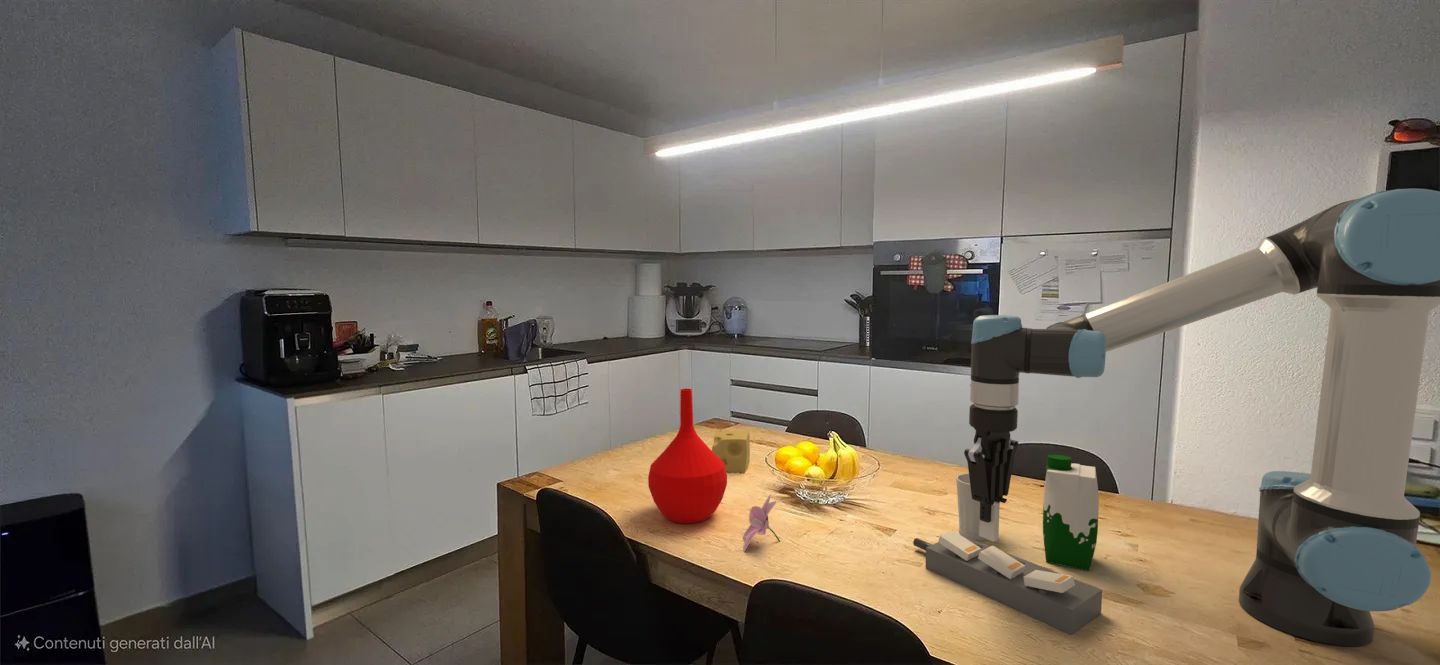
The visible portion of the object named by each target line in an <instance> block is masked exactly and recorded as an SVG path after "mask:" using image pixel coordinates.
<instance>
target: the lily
mask: <svg viewBox="0 0 1440 665" xmlns="http://www.w3.org/2000/svg"><path fill="white" fill-rule="evenodd" d="M771 496H772V494H769V496H768V497H767V498H766V500H765V502H764V503H763V505H762V507H760V506H757V505H755V506H751V508H750V510H749V515H748V521H749V526H748V528H746V531H745V532H744V534H743V536H742V539H744V538H745V541H744V544H743V553H745V552H746V550H747V548H748V546H749V545H750V543H751V541H752V540H753V538H754V537H755V535H759V536H765V535H766V534H767V529H768V530H770V532H771V533H772V534H773V535H774V536H775V538H776V540H777V541H778V542H779V543H780V542H781V540H780V538H779V537H778V536H777V534H776V532H775V531H774V530H773V529H772V528H771V527H770V523H769V514H770V513H771V510H772V509H773V508H774V506H775V505H776V504H777V501H776V500H774V501H771V502H770V500H771Z"/></svg>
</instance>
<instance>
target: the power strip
mask: <svg viewBox="0 0 1440 665" xmlns="http://www.w3.org/2000/svg"><path fill="white" fill-rule="evenodd" d="M961 536H962V535H961ZM963 537H964V536H963ZM964 538H966V539H967V540H969V541H971V542H972V543H974V544H975V545H977V546H978V547H980V548H981V551H982V550H984V549H986V548H988V547H991V546H989V545H987V544H984V543H982V542H981V541H980V542H979V541H977V540H972V539H969V538H967V537H964ZM912 544H913V546H914V547H915V548H916V547H917V548H919V549H921V550H923V551H925V568H926V569H927V570H929V571H932V572H933V573H936V574H938V575H940V576H942V577H944V578H947V579H949V580H951V581H952V582H955V583H958V584H960V585H962V586H964V587H966V588H968V589H970V590H973V591H975V592H977V593H979V594H982V595H983V596H986V597H988V598H990V599H992V600H994V601H997V602H999V603H1001V604H1003V605H1005V606H1008V607H1010V608H1012V609H1014V610H1016V611H1019V612H1020V613H1022V614H1025V615H1026V616H1030V617H1031V618H1034V619H1036V620H1038V621H1040V622H1042V623H1045V624H1047V625H1048V626H1051V627H1053V628H1055V629H1057V630H1060V631H1061V632H1064V633H1066V634H1068V635H1070V636H1072V635H1074V633H1076V632H1077V631H1079V630H1080V629H1081V628H1083V627H1084V626H1086V625H1087V624H1088V623H1090V622H1091V621H1092V620H1094V619H1096V617H1098V616H1099V615H1101V614H1102V604H1103V602H1102V601H1103V589H1102V588H1099V587H1096V586H1094V585H1092V584H1089V583H1086V582H1083V581H1081V580H1079V579H1075V578H1074V583H1075V586H1073V587H1071V588H1070V589H1068V590H1067V591H1065V592H1063V593H1060V592H1055V591H1050V590H1045V589H1040V588H1035V587H1030V586H1025V583H1024V578H1023V577H1024V576H1026V575H1027V574H1029V573H1031V572H1033V571H1035V570H1040V571H1046V572H1052V573H1058V574H1061V573H1060V572H1058V571H1056V570H1052V569H1051V568H1050V569H1049V568H1046V567H1045V566H1041V565H1039V564H1037V563H1034V562H1031V561H1030V560H1026V559H1024V558H1021V557H1019V556H1016V555H1013V554H1010V553H1009V552H1007V551H1003V552H1004V553H1006V554H1007V555H1009V556H1011V557H1012V558H1014V559H1015V560H1017V561H1019V562H1020V563H1022V564H1023V565H1025V568H1024V571H1023V573H1021V574H1019V575H1017V576H1016V577H1014V578H1012V579H1009V578H1007V577H1006V576H1004V575H1003V574H1001V573H1000V572H998V571H997V570H995V569H994V568H992V567H990V566H989V565H987V564H986V563H984V562H983V561H981V560H980V559H978V557H979V555H978V556H976V557H974V558H972V559H970V560H968V561H966V560H964V559H963V558H961V557H960V556H958V555H957V554H955V553H954V552H952V551H951V550H949V549H948V548H946V547H945V546H943V545H942V544H940V543H939V542H938V541H937V542H935V543H934V544H932V543H930V542H927V541H925V540H922V539H920V538H918V537H916V538H914V539H913V543H912Z"/></svg>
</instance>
